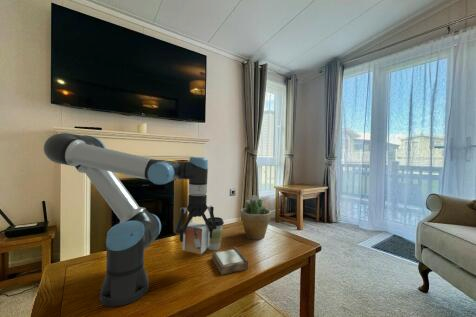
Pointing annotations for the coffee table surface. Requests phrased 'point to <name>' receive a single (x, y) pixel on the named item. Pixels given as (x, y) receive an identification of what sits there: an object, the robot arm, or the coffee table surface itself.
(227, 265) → the tray
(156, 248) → the coffee table surface
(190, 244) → the small box
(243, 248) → the coffee table surface
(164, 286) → the coffee table surface
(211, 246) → the coffee cup
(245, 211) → the potted plant
